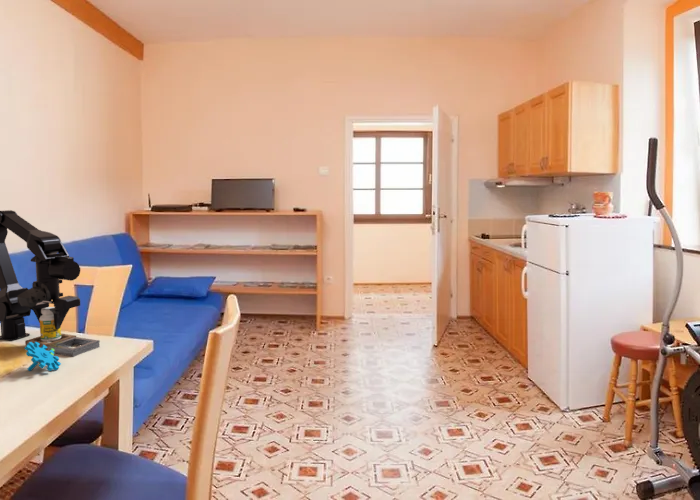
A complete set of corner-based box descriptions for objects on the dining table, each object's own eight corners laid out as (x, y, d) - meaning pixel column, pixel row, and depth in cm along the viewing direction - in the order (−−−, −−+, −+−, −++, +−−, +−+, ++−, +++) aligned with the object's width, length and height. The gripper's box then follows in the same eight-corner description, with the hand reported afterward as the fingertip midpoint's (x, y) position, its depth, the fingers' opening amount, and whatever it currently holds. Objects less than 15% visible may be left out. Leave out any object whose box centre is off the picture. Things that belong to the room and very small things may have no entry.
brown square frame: (25, 347, 147) (25, 340, 147) (53, 338, 156) (53, 332, 156) (49, 351, 145) (49, 344, 144) (76, 341, 153) (76, 335, 153)
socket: (48, 352, 143) (47, 345, 143) (75, 343, 152) (75, 336, 152) (73, 356, 141) (72, 349, 140) (99, 346, 149) (99, 340, 149)
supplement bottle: (60, 335, 154) (58, 305, 153) (62, 340, 150) (60, 309, 148) (39, 338, 151) (38, 307, 150) (41, 343, 147) (39, 311, 145)
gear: (50, 371, 125) (21, 343, 125) (33, 388, 125) (3, 360, 124) (70, 361, 136) (43, 336, 136) (54, 377, 136) (27, 351, 135)
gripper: (-2, 279, 143) (1, 331, 145) (47, 285, 137) (50, 339, 139) (33, 273, 154) (36, 322, 156) (80, 278, 148) (82, 328, 150)
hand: (50, 327), depth 150 cm, fingers closed on supplement bottle, 5 cm apart
